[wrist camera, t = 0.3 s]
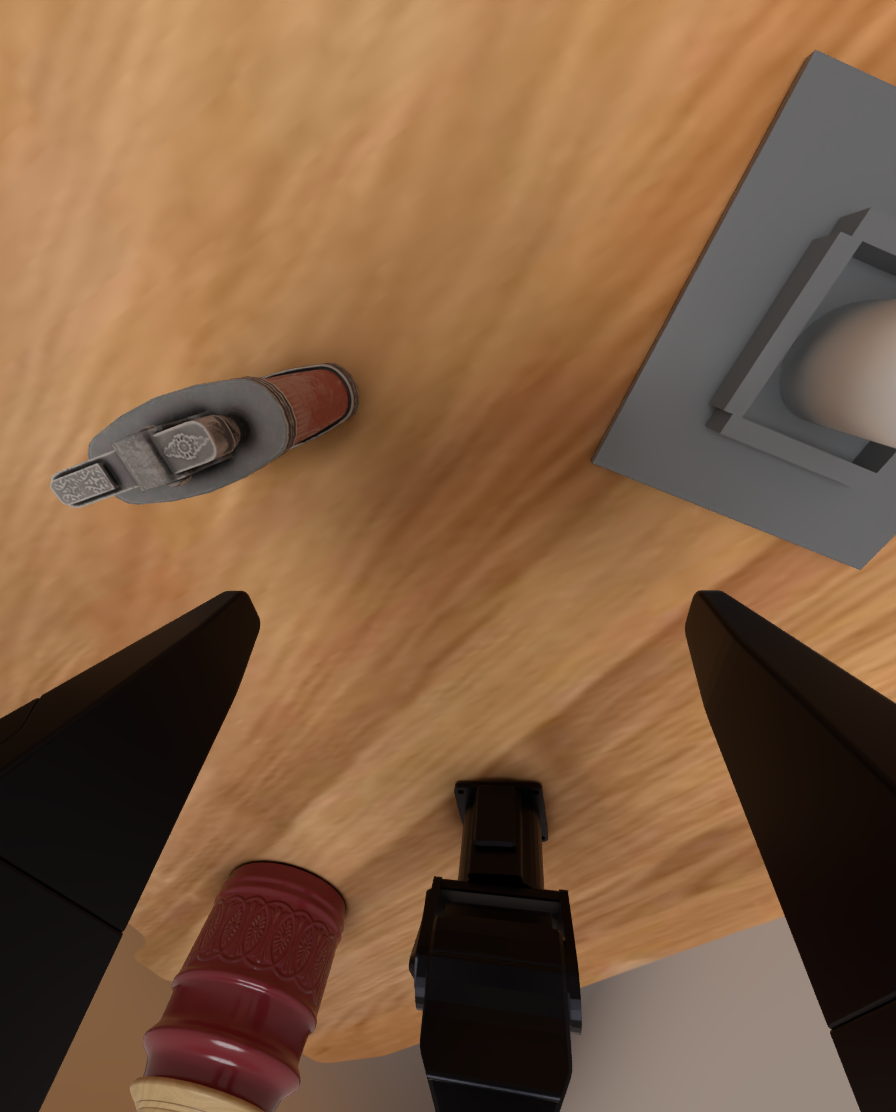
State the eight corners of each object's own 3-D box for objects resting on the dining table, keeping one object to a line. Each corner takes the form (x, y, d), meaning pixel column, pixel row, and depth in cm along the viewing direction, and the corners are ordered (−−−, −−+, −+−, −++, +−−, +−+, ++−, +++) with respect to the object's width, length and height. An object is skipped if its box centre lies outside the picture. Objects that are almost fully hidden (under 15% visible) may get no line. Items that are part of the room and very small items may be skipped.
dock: (853, 565, 21) (884, 586, 19) (590, 460, 20) (598, 472, 19) (1178, 229, 14) (1271, 215, 13) (805, 58, 14) (848, 18, 12)
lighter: (341, 346, 20) (202, 360, 11) (370, 420, 21) (267, 484, 12) (201, 402, 22) (-10, 452, 13) (235, 466, 23) (66, 549, 14)
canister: (216, 848, 42) (46, 1148, 27) (344, 870, 41) (242, 1198, 26) (241, 914, 48) (113, 1188, 33) (353, 935, 47) (275, 1231, 32)
